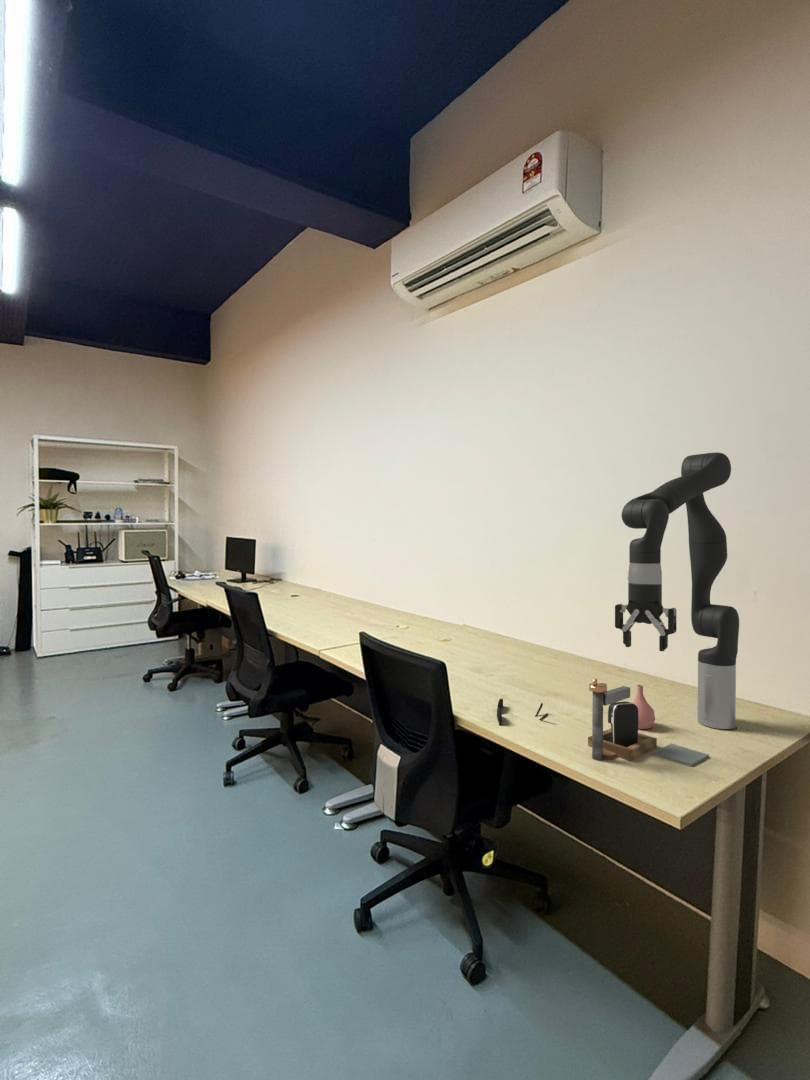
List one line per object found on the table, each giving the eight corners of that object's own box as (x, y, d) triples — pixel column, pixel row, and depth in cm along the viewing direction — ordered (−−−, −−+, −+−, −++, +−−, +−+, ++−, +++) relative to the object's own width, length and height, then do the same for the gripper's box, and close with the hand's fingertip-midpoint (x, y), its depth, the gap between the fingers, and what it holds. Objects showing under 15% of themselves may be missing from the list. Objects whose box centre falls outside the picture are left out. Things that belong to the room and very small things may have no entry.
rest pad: (671, 745, 139) (671, 743, 139) (708, 757, 132) (708, 754, 132) (653, 754, 134) (653, 752, 134) (691, 766, 127) (691, 764, 127)
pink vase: (652, 725, 154) (653, 683, 154) (657, 735, 147) (657, 690, 147) (623, 723, 156) (623, 681, 156) (626, 732, 149) (626, 688, 149)
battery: (629, 743, 141) (629, 699, 141) (639, 749, 137) (639, 703, 137) (605, 746, 139) (605, 701, 139) (615, 752, 135) (615, 705, 135)
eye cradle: (616, 735, 146) (616, 675, 146) (656, 748, 138) (657, 684, 138) (574, 752, 135) (574, 687, 135) (616, 767, 126) (616, 697, 126)
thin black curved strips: (548, 734, 148) (549, 716, 148) (494, 730, 151) (494, 712, 151) (545, 715, 164) (546, 698, 164) (496, 711, 167) (497, 695, 167)
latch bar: (619, 694, 141) (619, 669, 141) (634, 698, 138) (634, 672, 138) (585, 705, 131) (585, 678, 131) (600, 709, 128) (600, 681, 128)
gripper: (680, 582, 132) (680, 650, 133) (620, 579, 142) (620, 642, 142) (671, 584, 127) (671, 655, 127) (609, 581, 136) (609, 647, 136)
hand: (644, 648), depth 134 cm, fingers open, 7 cm apart
